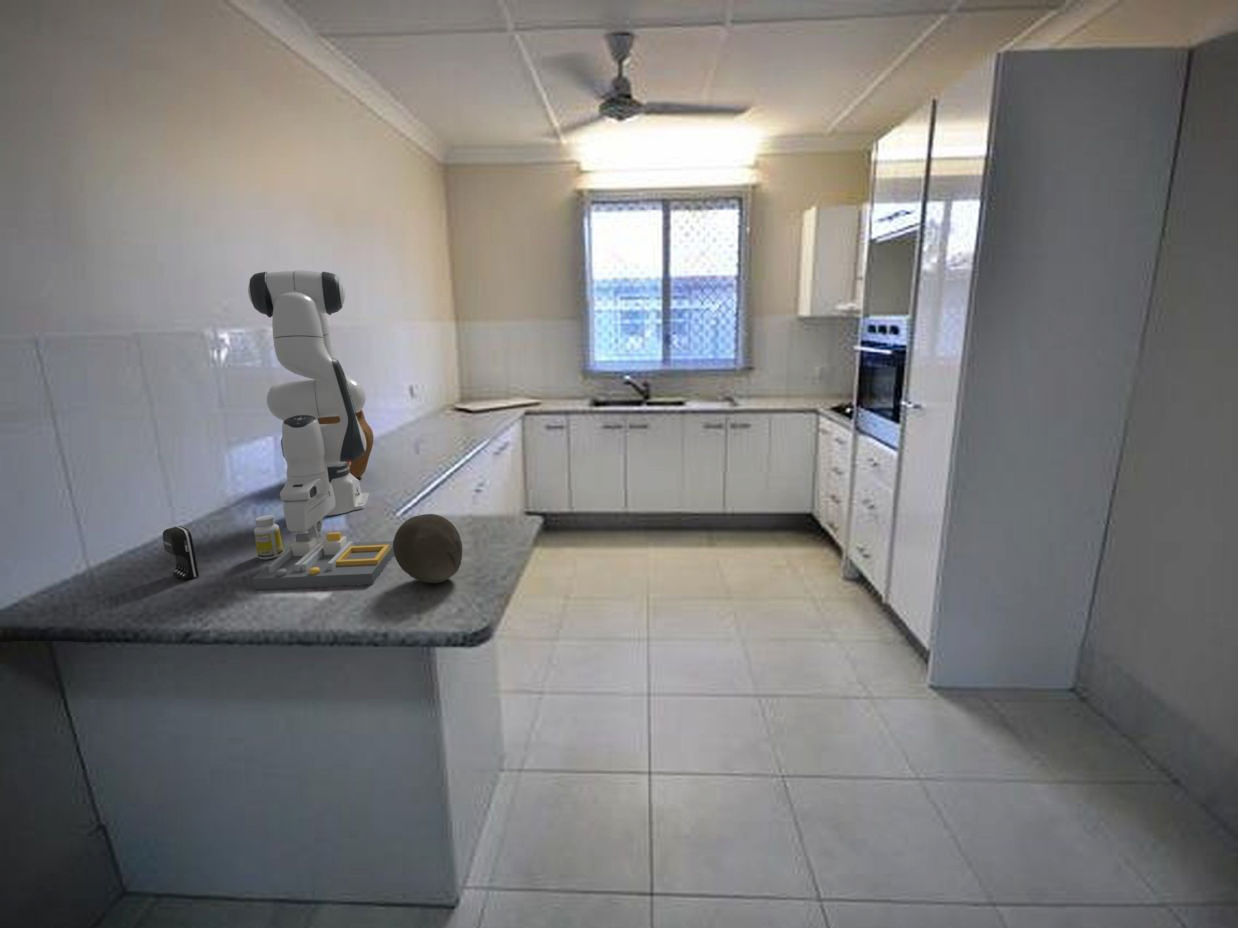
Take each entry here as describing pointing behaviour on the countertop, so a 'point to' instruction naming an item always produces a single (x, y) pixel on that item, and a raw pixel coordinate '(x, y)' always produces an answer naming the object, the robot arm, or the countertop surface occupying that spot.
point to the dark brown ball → (428, 548)
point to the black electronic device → (181, 551)
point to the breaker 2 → (334, 543)
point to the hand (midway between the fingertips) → (316, 538)
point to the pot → (360, 464)
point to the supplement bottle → (268, 538)
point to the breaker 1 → (303, 544)
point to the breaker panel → (326, 567)
